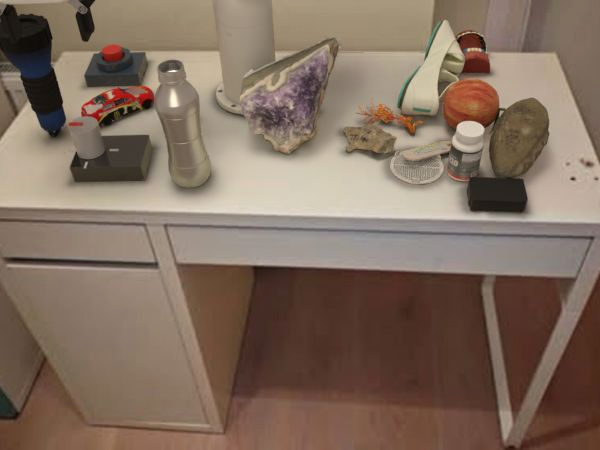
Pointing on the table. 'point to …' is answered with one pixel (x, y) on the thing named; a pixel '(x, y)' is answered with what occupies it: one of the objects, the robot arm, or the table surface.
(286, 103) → the gemstone
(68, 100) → the table surface
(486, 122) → the fruit
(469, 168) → the pill bottle
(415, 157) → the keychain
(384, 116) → the dragon
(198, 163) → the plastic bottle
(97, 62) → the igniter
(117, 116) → the race car
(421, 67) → the white wedge shoe
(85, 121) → the stove knob
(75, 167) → the panel
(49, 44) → the flashlight
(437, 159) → the drain cover
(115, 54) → the button
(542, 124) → the stone
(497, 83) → the table surface
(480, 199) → the ink cartridge
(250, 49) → the robot arm
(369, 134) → the artifact
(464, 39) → the dental model
